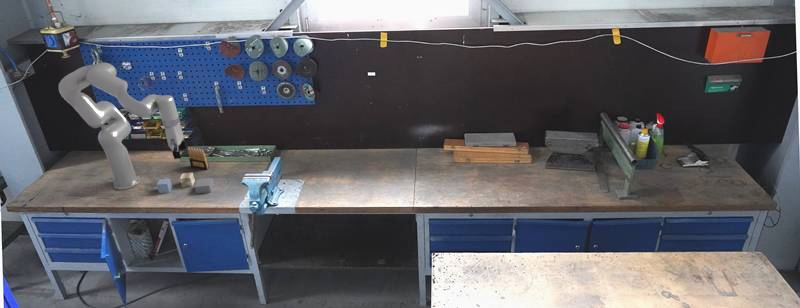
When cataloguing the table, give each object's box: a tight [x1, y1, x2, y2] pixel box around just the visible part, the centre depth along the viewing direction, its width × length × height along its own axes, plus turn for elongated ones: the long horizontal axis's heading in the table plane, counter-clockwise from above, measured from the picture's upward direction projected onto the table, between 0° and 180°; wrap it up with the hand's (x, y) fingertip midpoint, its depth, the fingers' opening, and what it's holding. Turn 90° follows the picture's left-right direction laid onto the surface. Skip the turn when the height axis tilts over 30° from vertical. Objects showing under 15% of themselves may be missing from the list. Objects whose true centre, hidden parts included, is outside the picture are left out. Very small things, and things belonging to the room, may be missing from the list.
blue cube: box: [156, 178, 173, 194], centre depth 269 cm, size 5×5×5 cm
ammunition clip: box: [187, 146, 210, 171], centre depth 285 cm, size 11×2×12 cm, turn 68°
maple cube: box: [179, 172, 196, 188], centre depth 273 cm, size 5×5×5 cm
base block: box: [194, 177, 215, 194], centre depth 268 cm, size 7×7×4 cm
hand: (180, 153), depth 266 cm, fingers open, 9 cm apart
